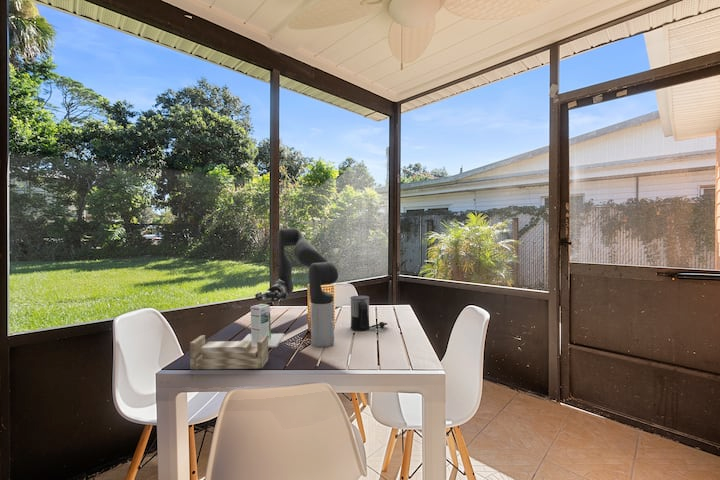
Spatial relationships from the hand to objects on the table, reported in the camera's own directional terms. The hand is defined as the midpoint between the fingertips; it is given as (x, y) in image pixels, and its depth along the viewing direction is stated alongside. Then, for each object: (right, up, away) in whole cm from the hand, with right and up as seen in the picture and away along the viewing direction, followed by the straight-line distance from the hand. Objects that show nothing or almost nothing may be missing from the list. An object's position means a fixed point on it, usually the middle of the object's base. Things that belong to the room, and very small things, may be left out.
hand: (267, 298), depth 151 cm
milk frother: (+46, -15, +7) cm, 49 cm away
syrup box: (0, -16, -10) cm, 19 cm away
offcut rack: (-4, -17, -34) cm, 38 cm away
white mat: (0, -16, -10) cm, 19 cm away
